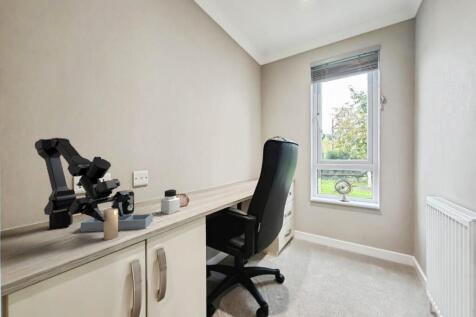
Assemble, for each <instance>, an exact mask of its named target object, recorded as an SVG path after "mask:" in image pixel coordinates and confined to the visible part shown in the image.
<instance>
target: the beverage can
mask: <svg viewBox="0 0 476 317" xmlns="http://www.w3.org/2000/svg"><path fill="white" fill-rule="evenodd" d="M126 190H127V191H128V193H129V194H130V195H129V196H128V197H127V199H126V200H125V201H124V202H123V203H122V210H123V215H132V214H133V213H134V212H135V192H134V190H133V189H126Z"/></svg>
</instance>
